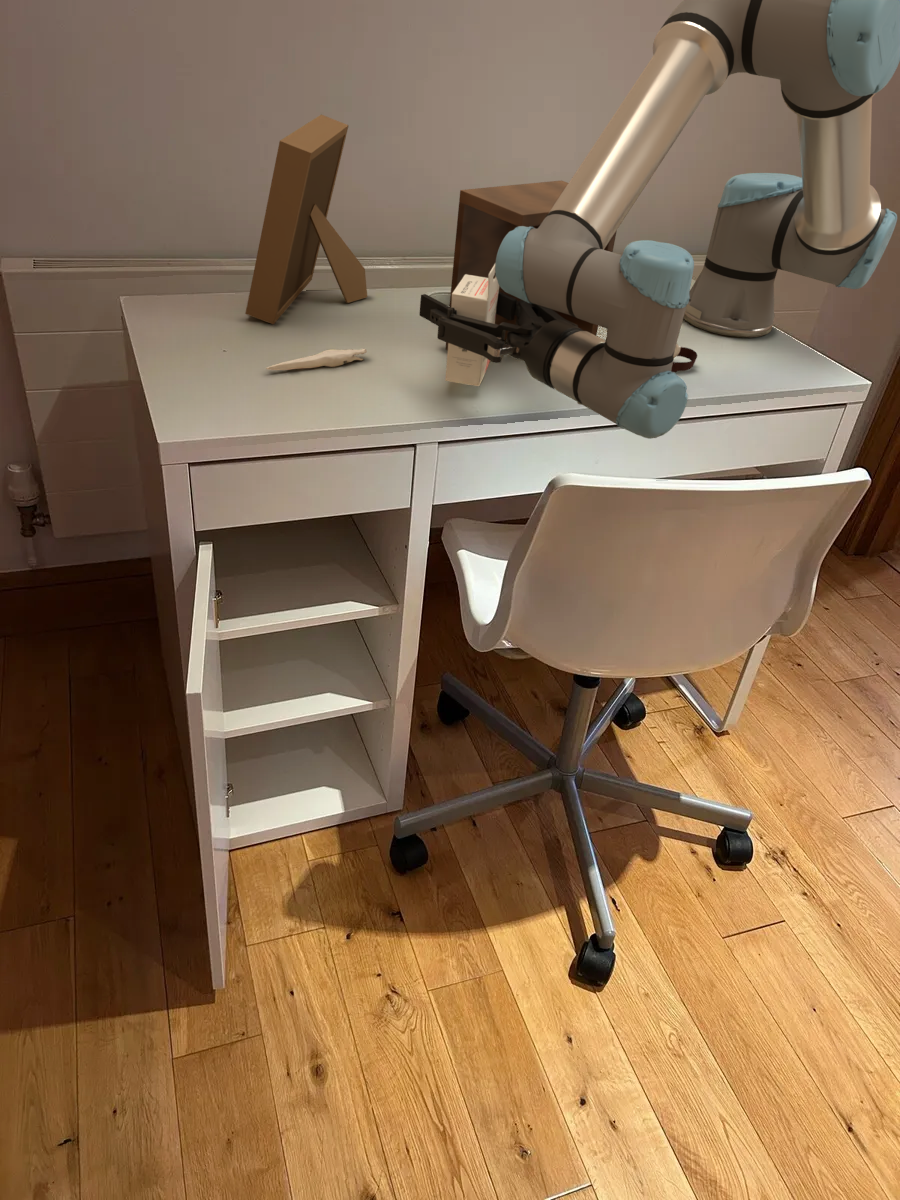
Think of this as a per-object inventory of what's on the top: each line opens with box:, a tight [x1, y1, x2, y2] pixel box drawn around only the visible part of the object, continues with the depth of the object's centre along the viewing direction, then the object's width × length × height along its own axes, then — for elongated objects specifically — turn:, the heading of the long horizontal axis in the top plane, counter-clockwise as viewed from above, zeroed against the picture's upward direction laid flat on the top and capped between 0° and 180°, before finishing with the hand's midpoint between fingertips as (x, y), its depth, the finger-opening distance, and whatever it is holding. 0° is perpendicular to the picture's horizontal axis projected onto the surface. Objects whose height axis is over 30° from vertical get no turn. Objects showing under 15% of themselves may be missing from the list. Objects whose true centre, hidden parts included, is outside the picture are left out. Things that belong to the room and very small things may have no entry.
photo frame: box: [245, 113, 368, 325], centre depth 137 cm, size 15×22×25 cm
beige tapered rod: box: [265, 347, 367, 371], centre depth 125 cm, size 15×3×2 cm, turn 123°
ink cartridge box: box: [444, 264, 499, 387], centre depth 120 cm, size 9×5×15 cm, turn 168°
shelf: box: [445, 179, 618, 352], centre depth 130 cm, size 19×12×22 cm
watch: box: [671, 343, 698, 373], centre depth 136 cm, size 8×5×4 cm, turn 100°
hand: (452, 299), depth 122 cm, fingers closed on ink cartridge box, 9 cm apart
